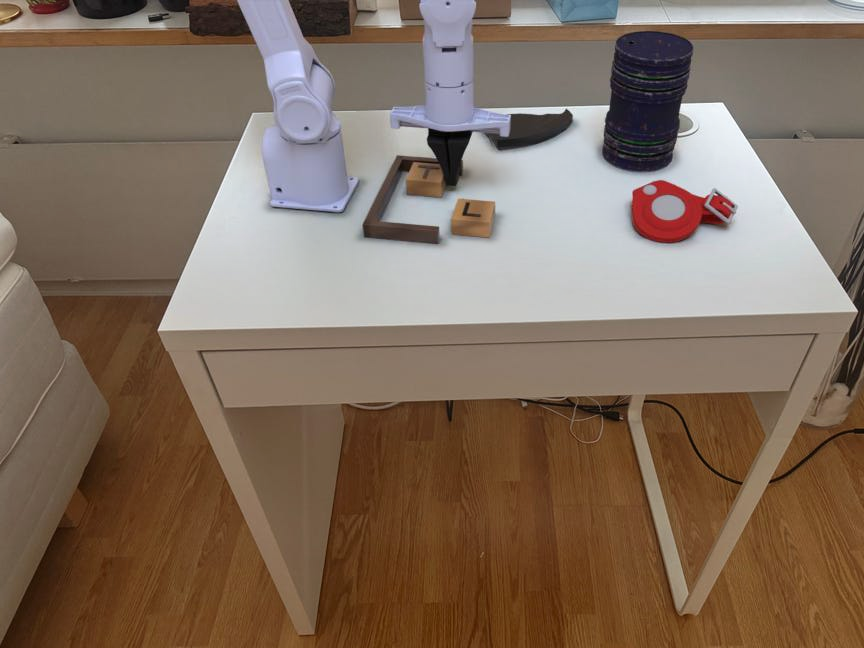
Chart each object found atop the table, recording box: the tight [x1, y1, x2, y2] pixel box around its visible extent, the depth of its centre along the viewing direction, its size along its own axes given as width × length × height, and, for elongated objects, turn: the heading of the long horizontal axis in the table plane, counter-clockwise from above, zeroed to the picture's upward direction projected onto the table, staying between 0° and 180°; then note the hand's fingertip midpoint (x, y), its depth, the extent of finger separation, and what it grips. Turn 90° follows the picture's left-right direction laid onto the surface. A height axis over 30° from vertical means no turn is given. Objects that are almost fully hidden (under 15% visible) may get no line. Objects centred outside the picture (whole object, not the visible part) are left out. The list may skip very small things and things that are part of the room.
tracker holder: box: [630, 179, 739, 244], centre depth 89 cm, size 12×4×10 cm
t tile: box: [405, 162, 447, 198], centre depth 95 cm, size 5×5×2 cm
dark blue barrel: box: [601, 30, 695, 173], centre depth 97 cm, size 10×10×15 cm
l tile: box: [450, 198, 496, 239], centre depth 89 cm, size 5×5×2 cm
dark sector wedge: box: [485, 108, 574, 151], centre depth 107 cm, size 8×14×2 cm, turn 107°
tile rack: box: [362, 154, 464, 245], centre depth 92 cm, size 9×17×2 cm, turn 171°
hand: (452, 182), depth 95 cm, fingers closed
